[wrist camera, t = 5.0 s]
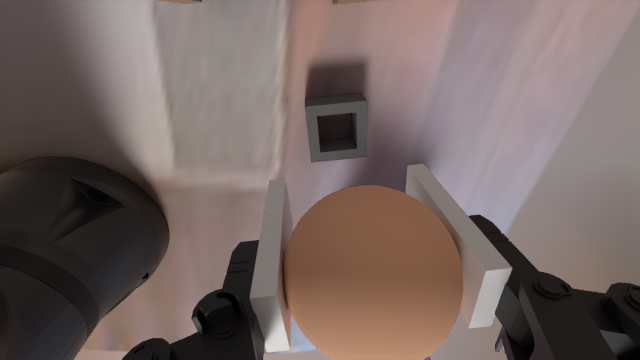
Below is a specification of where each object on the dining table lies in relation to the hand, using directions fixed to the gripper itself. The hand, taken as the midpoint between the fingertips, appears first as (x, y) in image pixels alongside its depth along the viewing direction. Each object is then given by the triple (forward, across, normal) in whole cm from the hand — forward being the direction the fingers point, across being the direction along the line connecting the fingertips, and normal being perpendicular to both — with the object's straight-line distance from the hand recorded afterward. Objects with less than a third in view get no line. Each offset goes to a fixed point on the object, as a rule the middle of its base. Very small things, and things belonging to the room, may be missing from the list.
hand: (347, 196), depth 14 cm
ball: (-2, 0, 0) cm, 2 cm away
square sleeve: (+11, +1, 0) cm, 12 cm away
